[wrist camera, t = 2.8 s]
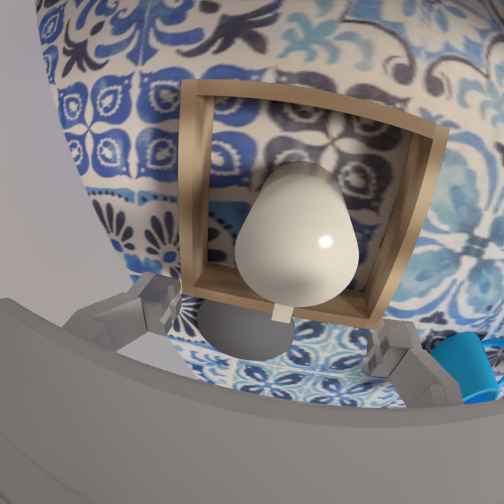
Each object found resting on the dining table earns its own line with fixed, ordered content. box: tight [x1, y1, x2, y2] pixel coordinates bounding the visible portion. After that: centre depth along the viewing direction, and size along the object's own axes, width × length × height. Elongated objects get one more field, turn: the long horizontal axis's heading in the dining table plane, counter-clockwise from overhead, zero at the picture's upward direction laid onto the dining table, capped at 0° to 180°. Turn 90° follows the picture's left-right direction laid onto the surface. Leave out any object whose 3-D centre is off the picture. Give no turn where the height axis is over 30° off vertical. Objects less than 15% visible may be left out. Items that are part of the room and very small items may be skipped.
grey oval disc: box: [197, 299, 295, 361], centre depth 27 cm, size 10×10×1 cm
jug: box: [235, 161, 359, 323], centre depth 17 cm, size 9×6×8 cm
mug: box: [429, 332, 504, 405], centre depth 21 cm, size 12×8×8 cm
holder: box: [178, 79, 450, 330], centre depth 18 cm, size 16×16×4 cm
